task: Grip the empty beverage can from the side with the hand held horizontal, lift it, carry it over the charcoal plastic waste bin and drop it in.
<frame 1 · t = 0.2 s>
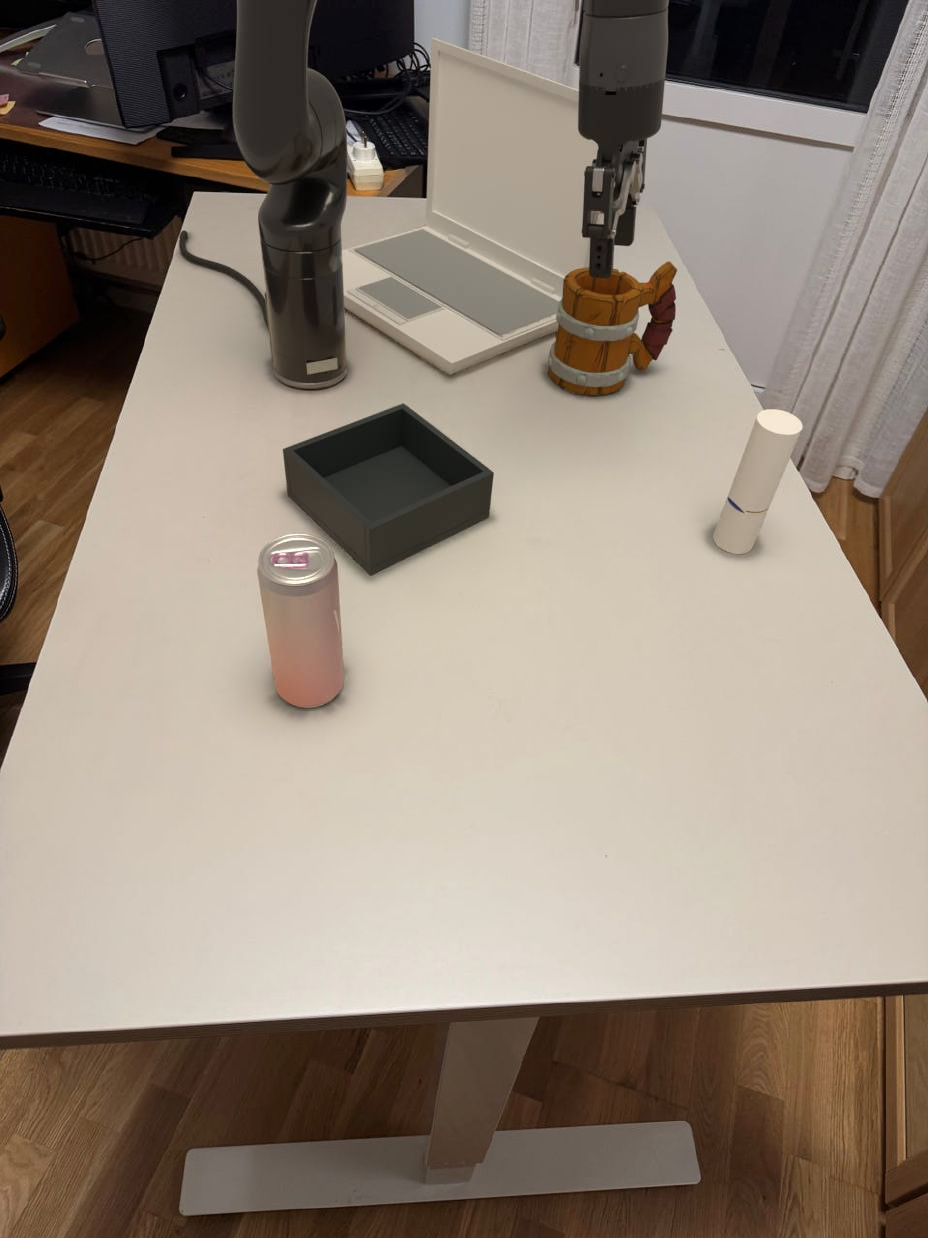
hand: (611, 260, 85), 22 cm above the table, tool pointing down, fingers open, 8 cm apart
bin: (388, 506, 91), on the table
mug: (603, 376, 113), on the table
tube: (732, 542, 91), on the table
laptop: (439, 303, 124), on the table
beverage can: (310, 685, 74), on the table
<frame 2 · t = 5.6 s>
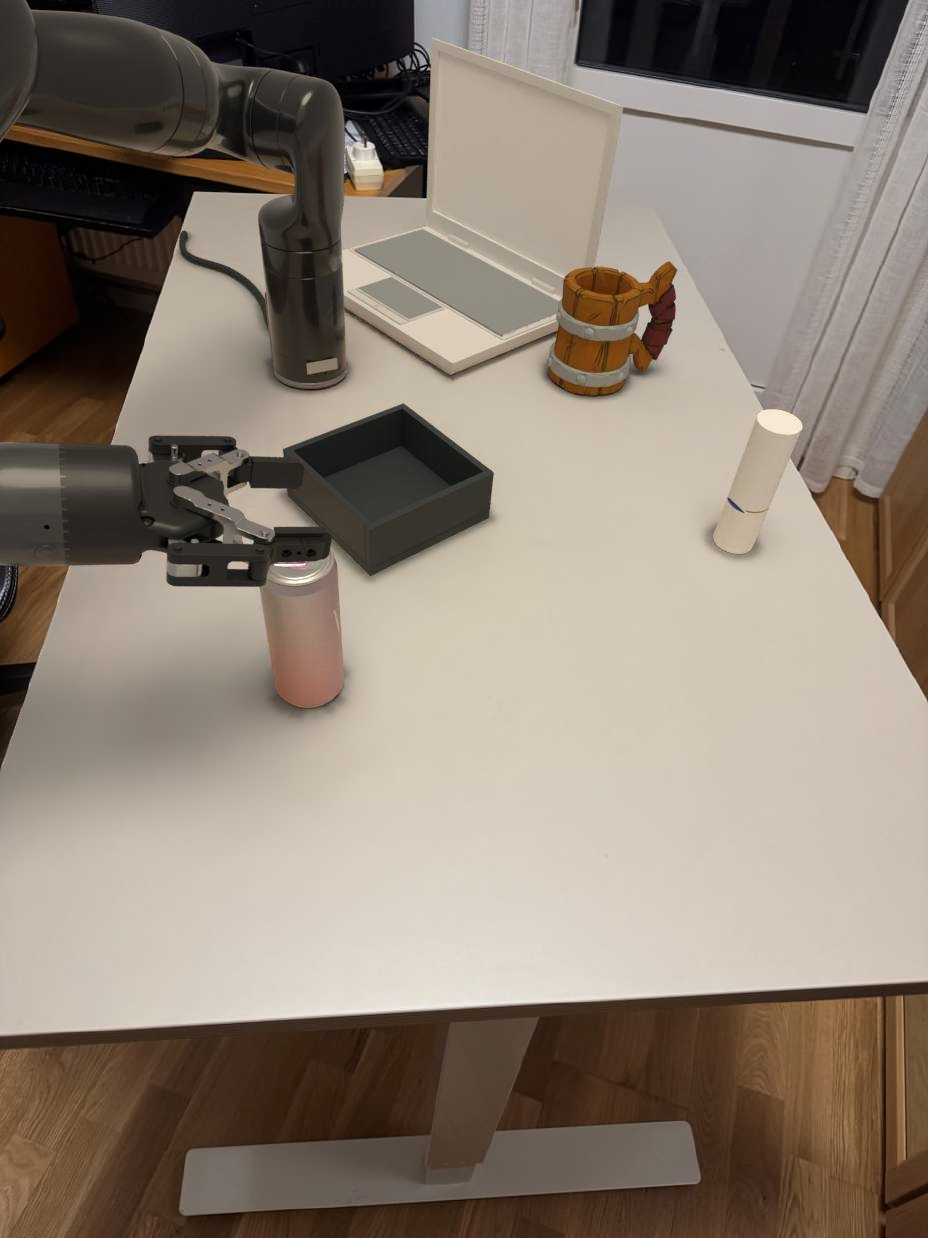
hand: (315, 506, 59), 20 cm above the table, tool horizontal, fingers open, 8 cm apart
nothing on the table moved.
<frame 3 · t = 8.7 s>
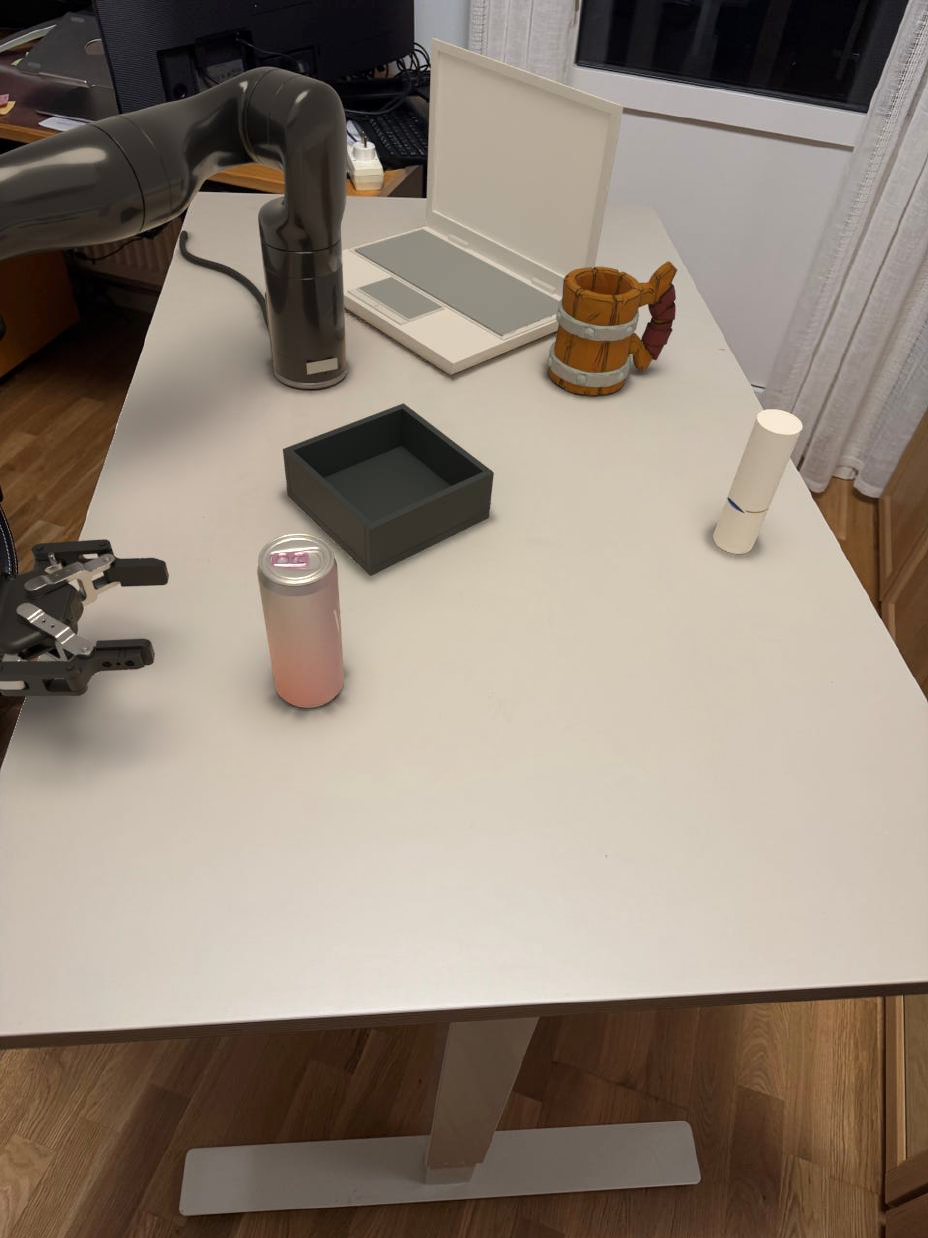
hand: (160, 610, 65), 10 cm above the table, tool horizontal, fingers open, 8 cm apart
nothing on the table moved.
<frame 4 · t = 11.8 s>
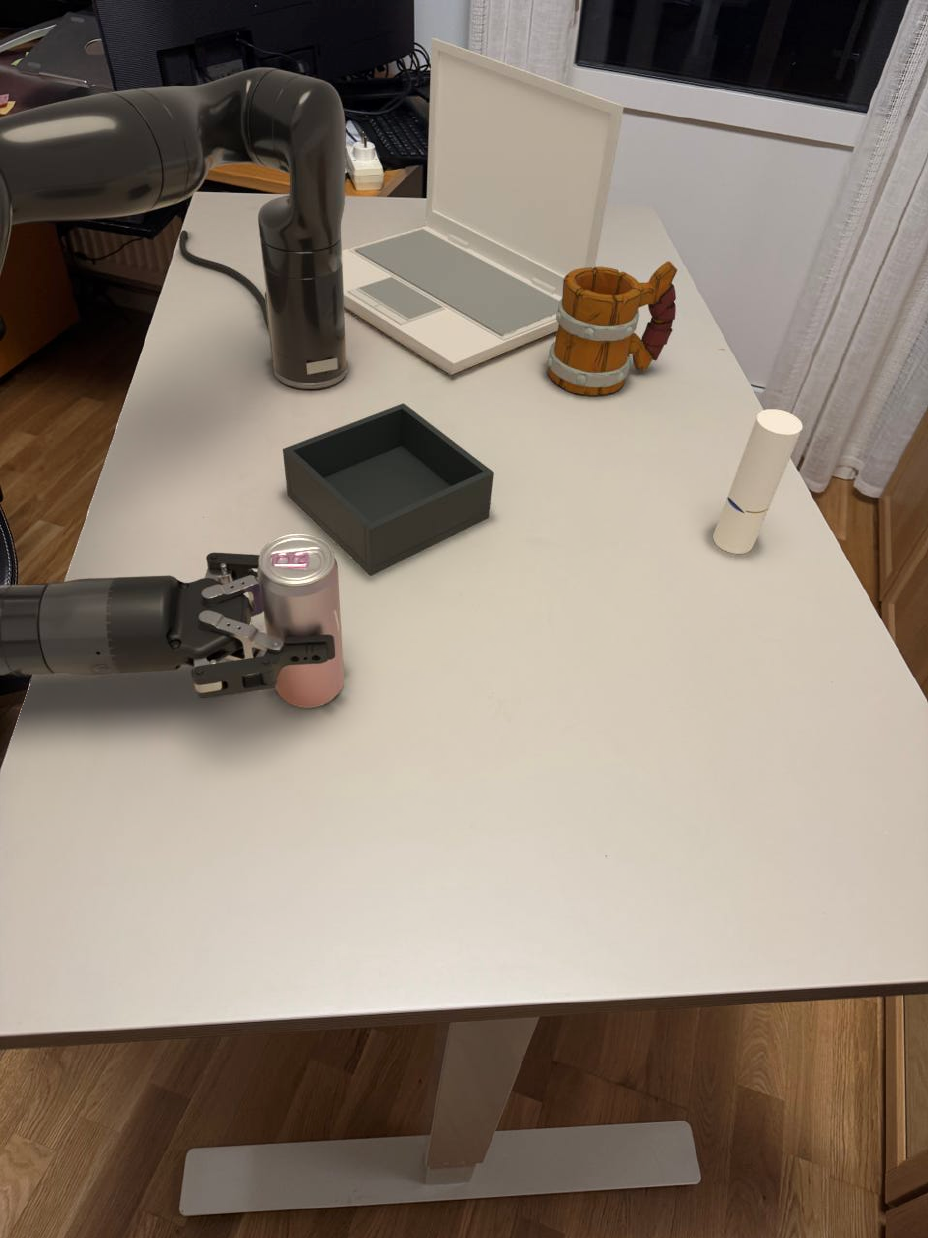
hand: (333, 616, 68), 8 cm above the table, tool horizontal, fingers closed on beverage can, 6 cm apart
beverage can: (310, 685, 74), on the table, touching gripper
everything else where it was.
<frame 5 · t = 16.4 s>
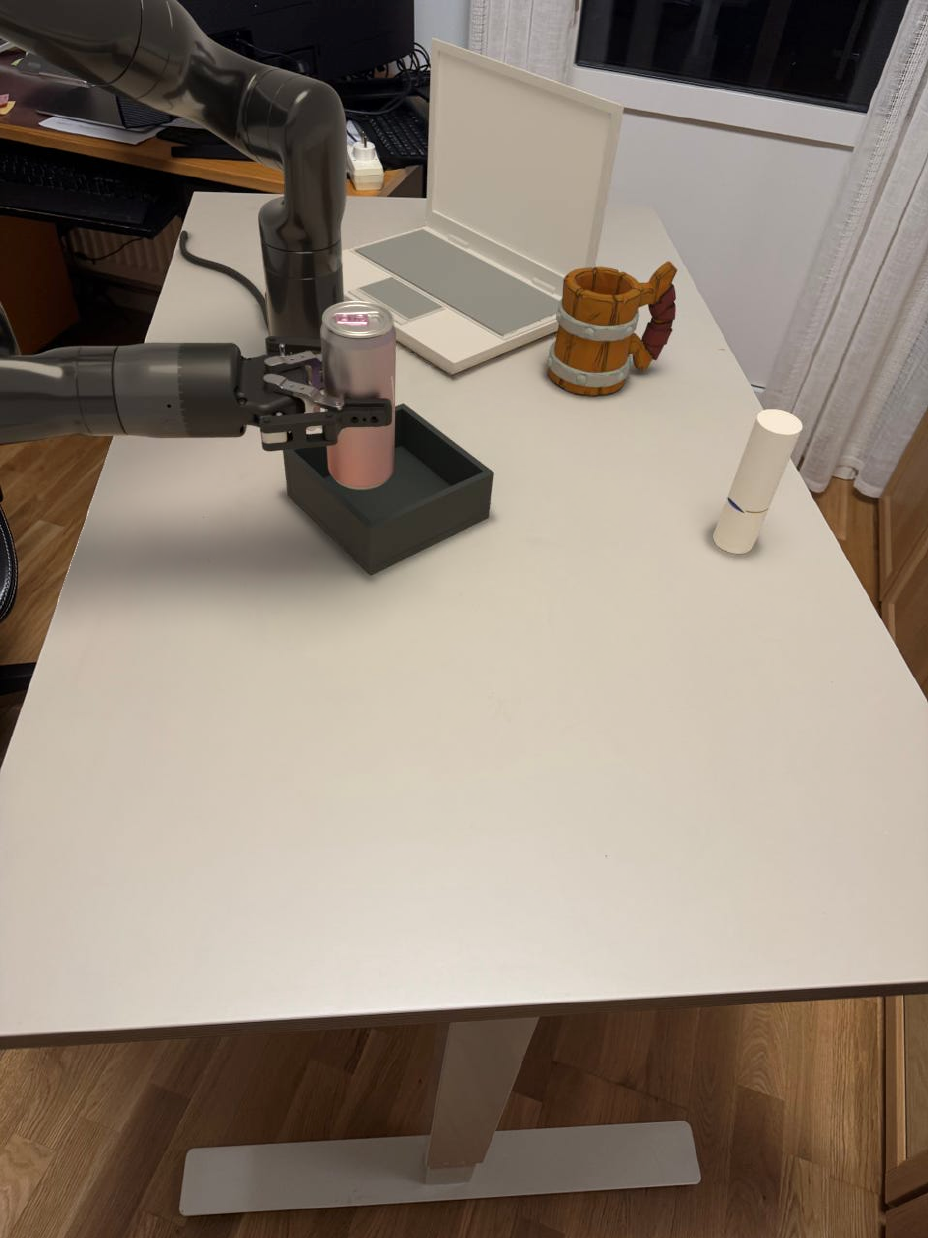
hand: (388, 389, 71), 20 cm above the table, tool horizontal, fingers closed on beverage can, 6 cm apart
beverage can: (361, 474, 77), point 11 cm above the table, touching gripper
everything else where it was.
when the fingers open (10 cm above the table, at t = 21.0 s): beverage can stays where it is, resting on bin.
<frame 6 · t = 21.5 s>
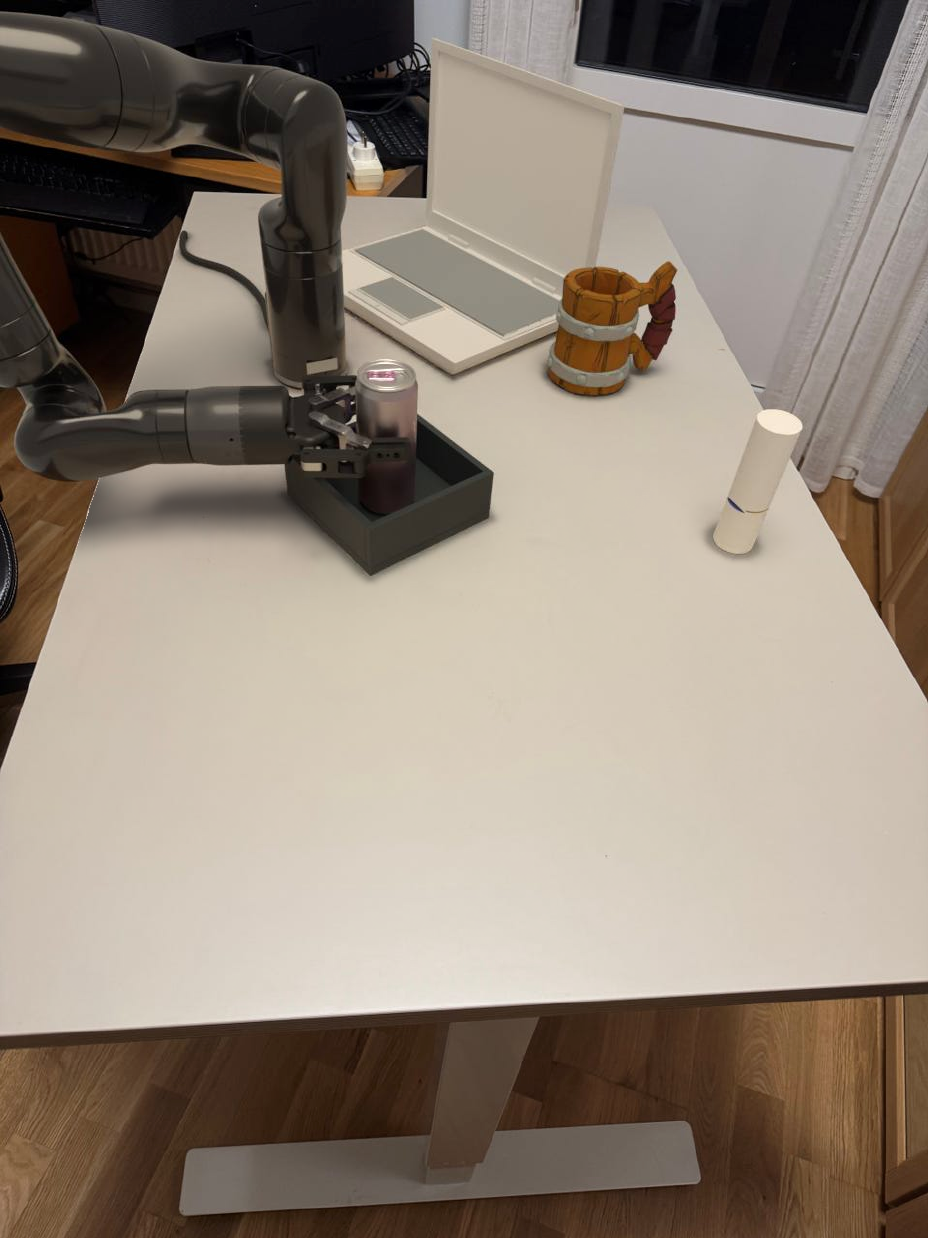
hand: (407, 423, 84), 10 cm above the table, tool horizontal, fingers open, 8 cm apart
beverage can: (386, 500, 90), point 1 cm above the table, touching bin
everything else where it was.
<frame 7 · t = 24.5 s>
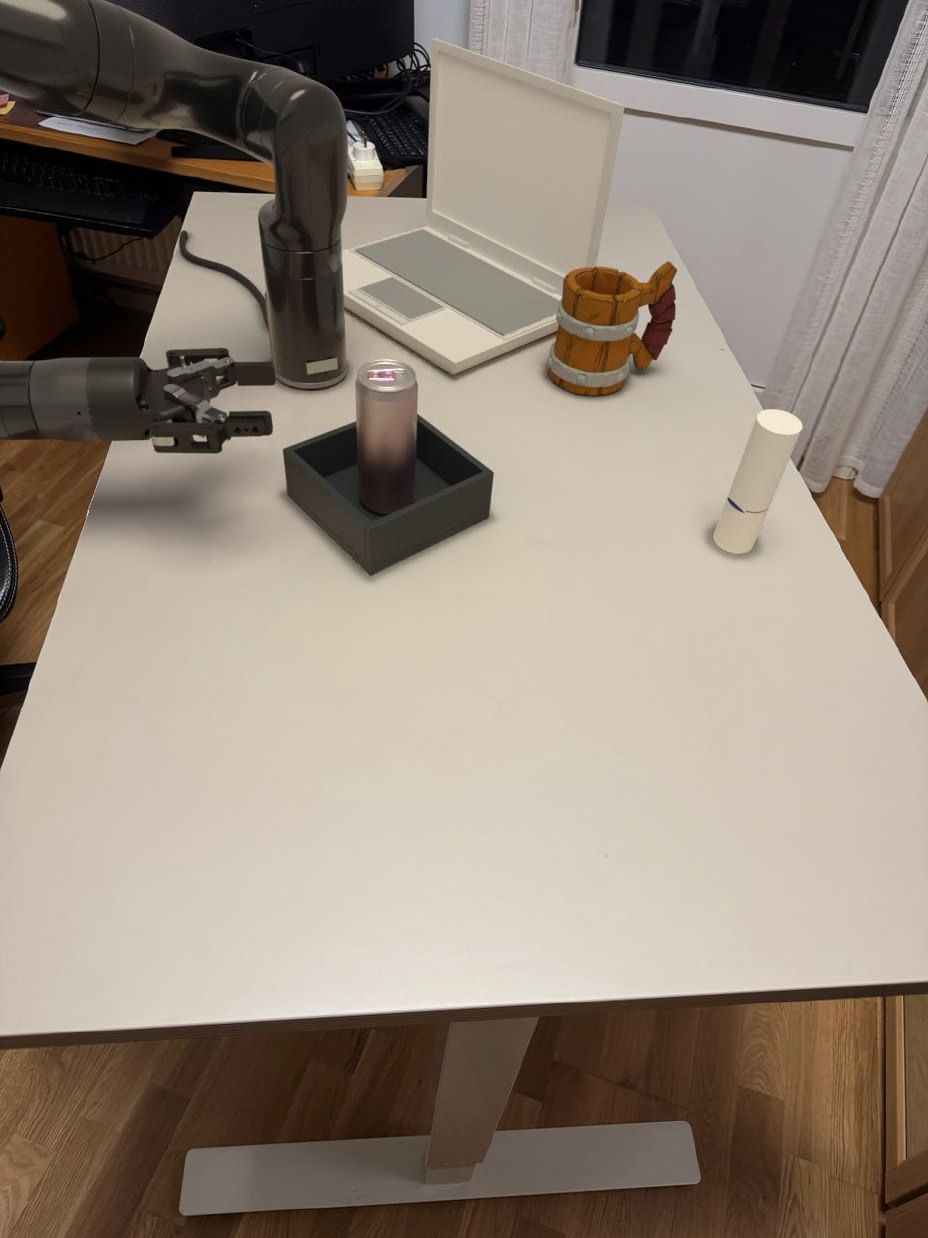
hand: (273, 397, 80), 14 cm above the table, tool horizontal, fingers open, 8 cm apart
nothing on the table moved.
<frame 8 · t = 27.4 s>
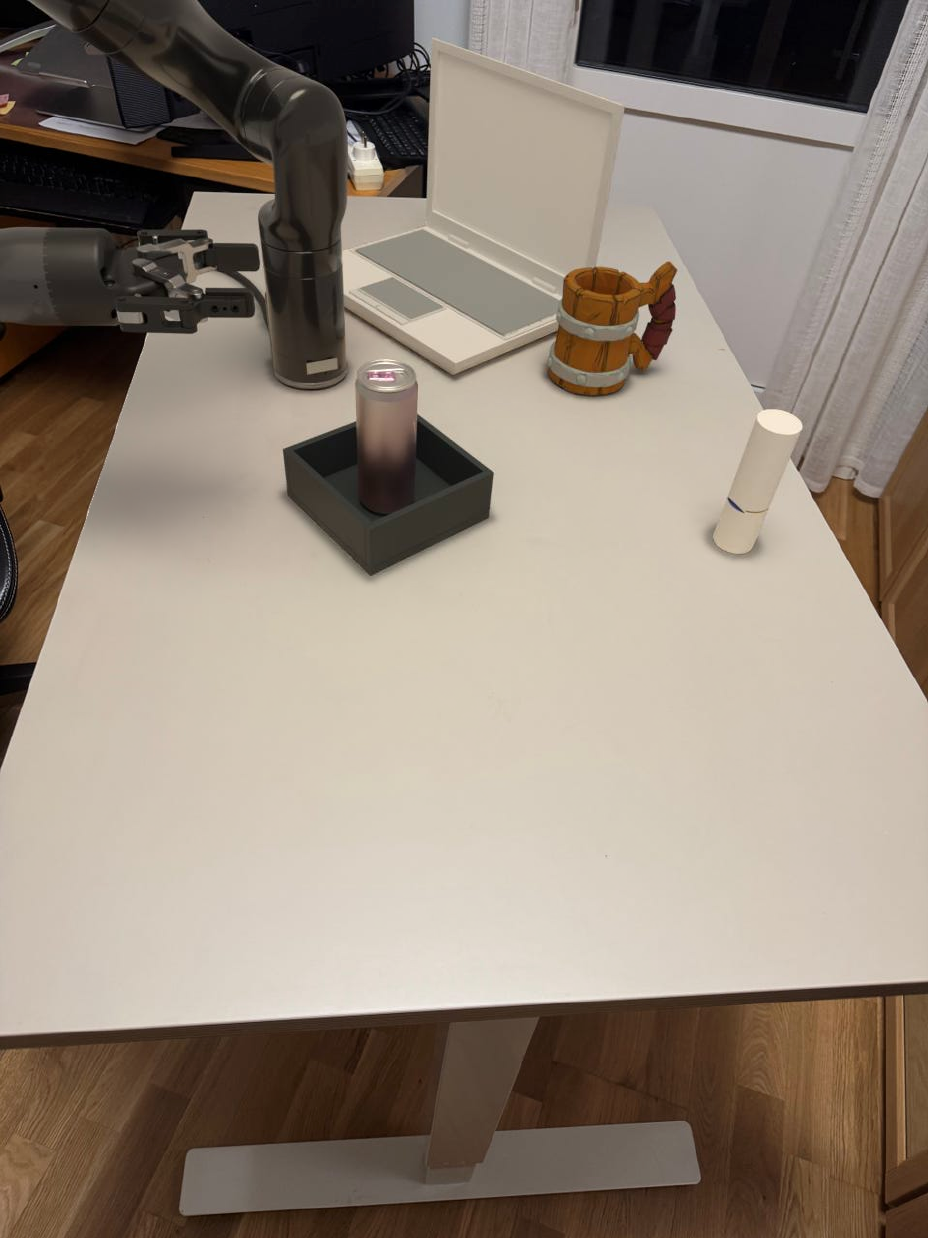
hand: (256, 279, 71), 25 cm above the table, tool horizontal, fingers open, 8 cm apart
nothing on the table moved.
at the end: beverage can inside the target area in the bin (0.2 cm from its centre), point 0.8 cm above the bin's base; the gripper is holding nothing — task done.
